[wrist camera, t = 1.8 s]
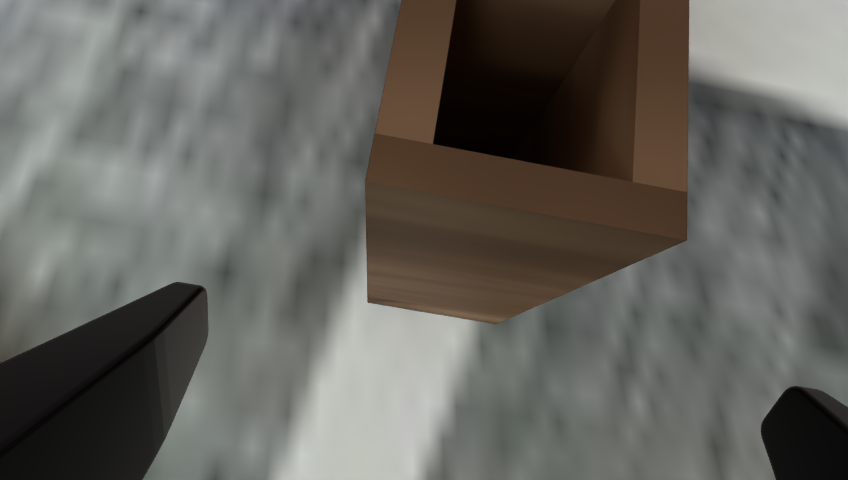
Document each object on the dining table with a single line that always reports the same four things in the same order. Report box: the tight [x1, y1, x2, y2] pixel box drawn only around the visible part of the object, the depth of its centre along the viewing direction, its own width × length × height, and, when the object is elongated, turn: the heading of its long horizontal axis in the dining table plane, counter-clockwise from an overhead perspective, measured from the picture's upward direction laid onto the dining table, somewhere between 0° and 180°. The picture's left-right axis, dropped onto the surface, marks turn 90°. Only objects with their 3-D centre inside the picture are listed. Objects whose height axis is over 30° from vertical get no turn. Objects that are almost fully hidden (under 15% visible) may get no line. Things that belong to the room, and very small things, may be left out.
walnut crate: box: [365, 0, 689, 324], centre depth 14 cm, size 6×5×12 cm
